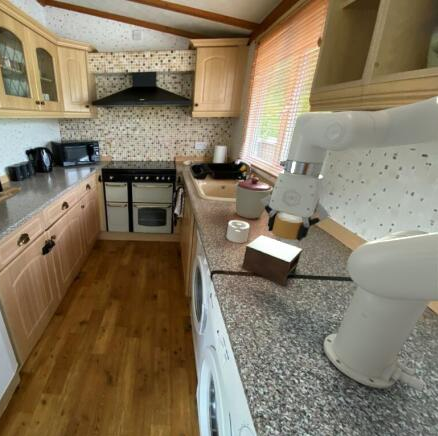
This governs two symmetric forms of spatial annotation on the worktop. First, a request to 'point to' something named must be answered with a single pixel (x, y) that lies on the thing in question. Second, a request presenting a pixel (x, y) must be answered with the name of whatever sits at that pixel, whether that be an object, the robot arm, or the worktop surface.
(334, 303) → the worktop surface
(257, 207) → the canister
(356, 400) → the worktop surface
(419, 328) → the worktop surface
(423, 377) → the worktop surface
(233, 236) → the white slotted cylinder
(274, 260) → the brown square pedestal
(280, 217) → the tape roll
